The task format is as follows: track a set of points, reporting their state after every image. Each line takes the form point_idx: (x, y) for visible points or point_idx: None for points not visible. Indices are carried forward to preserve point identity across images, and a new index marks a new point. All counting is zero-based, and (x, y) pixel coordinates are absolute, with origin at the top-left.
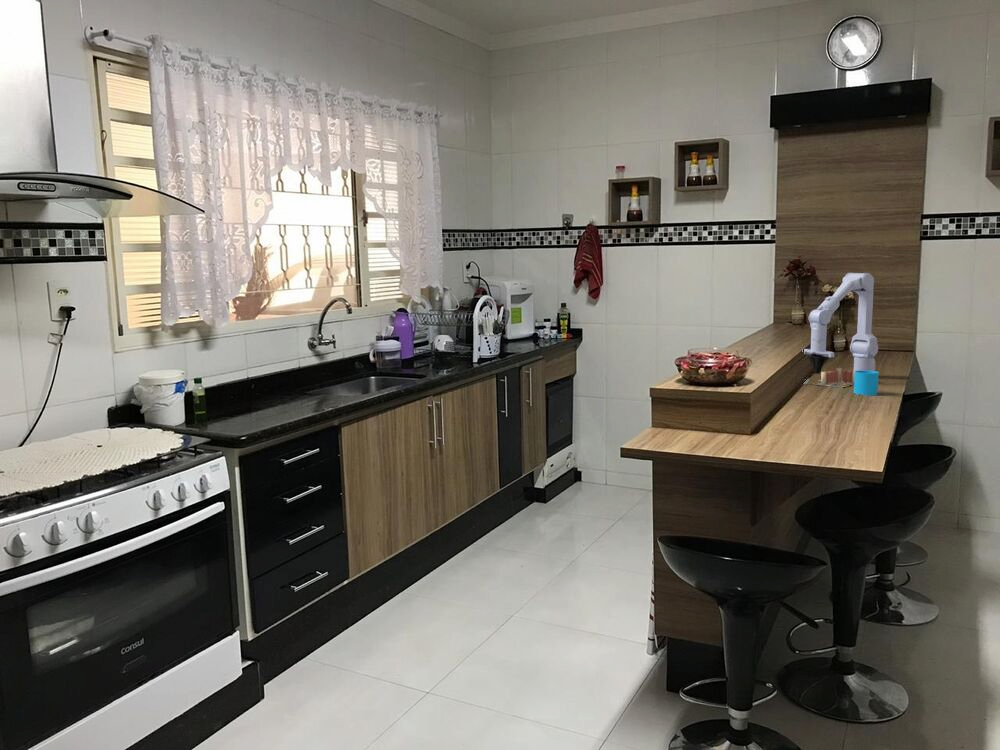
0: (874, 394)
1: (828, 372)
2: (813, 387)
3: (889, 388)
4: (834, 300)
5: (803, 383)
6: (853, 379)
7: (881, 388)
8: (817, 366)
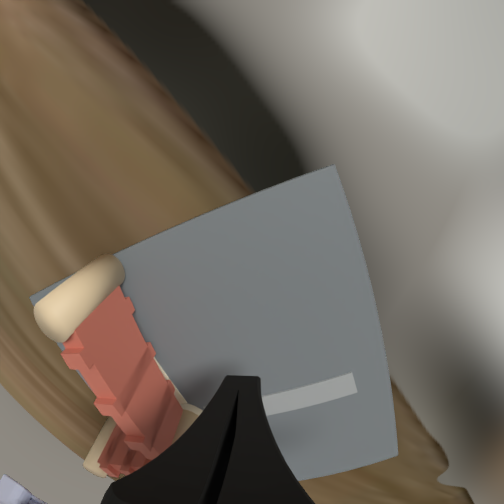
0: None
1: (100, 386)
2: (88, 154)
3: (36, 411)
4: None
5: (246, 196)
6: (104, 431)
7: (34, 398)
8: (191, 427)
